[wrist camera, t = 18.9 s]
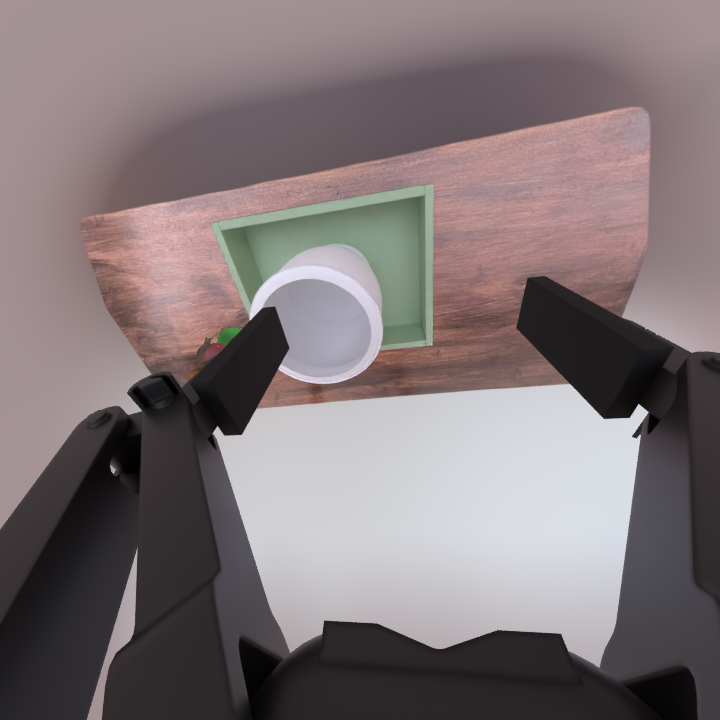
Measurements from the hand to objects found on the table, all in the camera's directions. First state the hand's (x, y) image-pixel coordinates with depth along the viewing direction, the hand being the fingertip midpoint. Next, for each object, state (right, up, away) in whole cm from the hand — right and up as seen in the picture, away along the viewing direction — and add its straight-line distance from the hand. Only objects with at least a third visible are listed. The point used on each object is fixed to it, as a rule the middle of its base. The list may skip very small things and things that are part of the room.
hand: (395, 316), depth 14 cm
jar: (-5, +8, +19) cm, 21 cm away
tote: (-5, +9, +19) cm, 22 cm away
